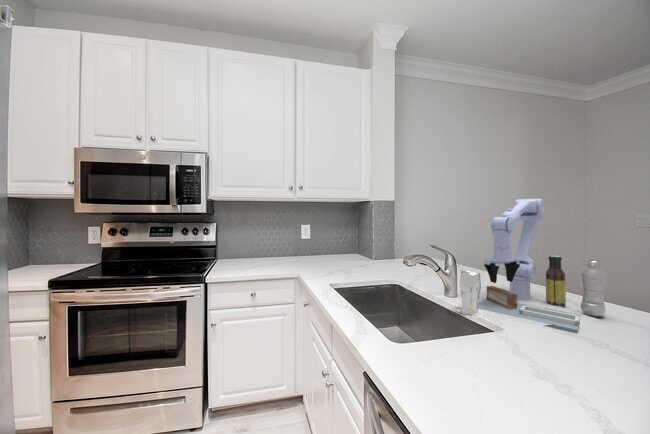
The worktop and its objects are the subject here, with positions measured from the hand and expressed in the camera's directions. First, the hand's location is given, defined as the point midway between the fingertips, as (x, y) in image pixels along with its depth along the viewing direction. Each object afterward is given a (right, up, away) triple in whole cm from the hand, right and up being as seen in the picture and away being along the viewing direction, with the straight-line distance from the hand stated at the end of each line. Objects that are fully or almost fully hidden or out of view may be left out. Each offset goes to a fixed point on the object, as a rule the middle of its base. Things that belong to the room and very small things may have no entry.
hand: (501, 281), depth 114 cm
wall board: (+4, -10, -8) cm, 13 cm away
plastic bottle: (+27, -10, -9) cm, 31 cm away
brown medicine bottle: (+22, -10, +1) cm, 24 cm away
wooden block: (0, -9, +1) cm, 9 cm away
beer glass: (-16, -10, -7) cm, 20 cm away
